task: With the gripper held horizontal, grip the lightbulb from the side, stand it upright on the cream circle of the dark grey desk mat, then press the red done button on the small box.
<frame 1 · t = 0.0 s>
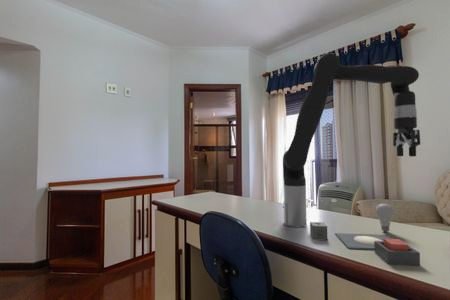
hand: (406, 156, 99), 29 cm above the table, tool pointing down, fingers open, 8 cm apart
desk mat: (368, 242, 83), on the table
lightbulb: (385, 232, 93), on the table
done button: (395, 245, 70), point 4 cm above the table, slide at 0.0 cm
button box: (395, 258, 70), on the table
dice cube: (318, 238, 88), on the table
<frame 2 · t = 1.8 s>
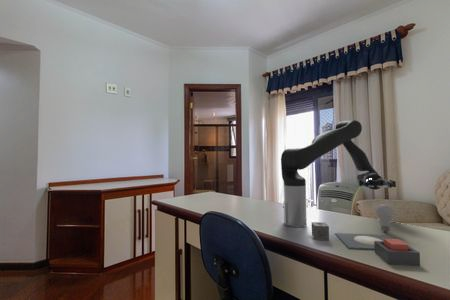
hand: (379, 185, 104), 17 cm above the table, tool horizontal, fingers open, 8 cm apart
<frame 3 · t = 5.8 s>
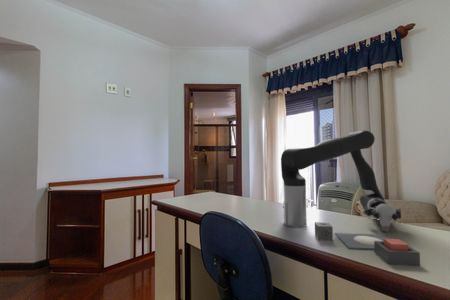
hand: (386, 216, 91), 7 cm above the table, tool horizontal, fingers closed on lightbulb, 5 cm apart
lightbulb: (385, 232, 93), on the table, touching gripper
dice cube: (323, 238, 88), on the table
everything else where it was.
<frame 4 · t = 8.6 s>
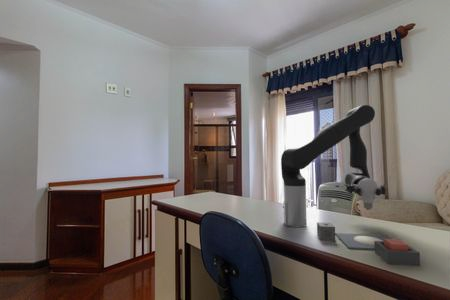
hand: (368, 192, 81), 18 cm above the table, tool horizontal, fingers closed on lightbulb, 5 cm apart
lightbulb: (368, 210, 83), point 11 cm above the table, touching gripper
when the fingers open (8 cm above the table, at t = 11.3 s): lightbulb stays where it is, resting on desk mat.
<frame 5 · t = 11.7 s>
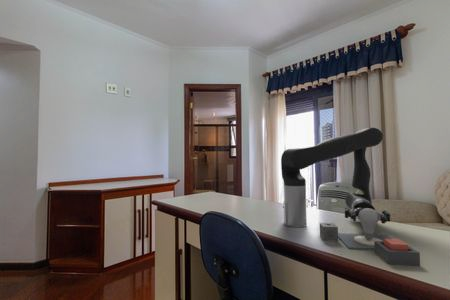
hand: (368, 219, 82), 8 cm above the table, tool horizontal, fingers open, 8 cm apart
lightbulb: (368, 240, 83), resting on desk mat
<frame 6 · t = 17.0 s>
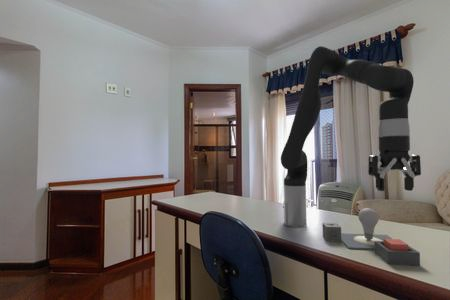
hand: (394, 190, 71), 20 cm above the table, tool pointing down, fingers open, 8 cm apart
dice cube: (331, 239, 87), on the table
everything else where it was.
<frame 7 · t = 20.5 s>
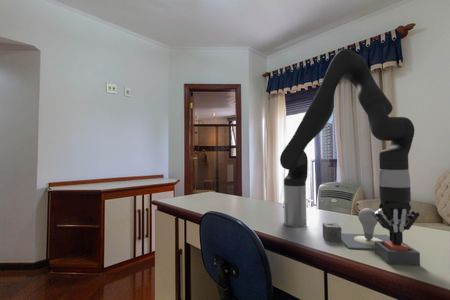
hand: (396, 244, 70), 4 cm above the table, tool pointing down, fingers closed
done button: (395, 248, 70), point 3 cm above the table, slide at 0.7 cm, touching gripper
everything else where it was.
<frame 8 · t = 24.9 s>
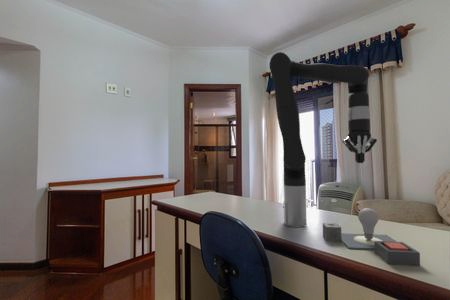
hand: (359, 162, 94), 27 cm above the table, tool pointing down, fingers closed
done button: (395, 249, 70), point 3 cm above the table, slide at 1.1 cm
everything else where it was.
at the end: lightbulb inside the target area (0.3 cm from its centre), resting on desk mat; lightbulb tilted 0°; done button slide at 1.1 cm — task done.
